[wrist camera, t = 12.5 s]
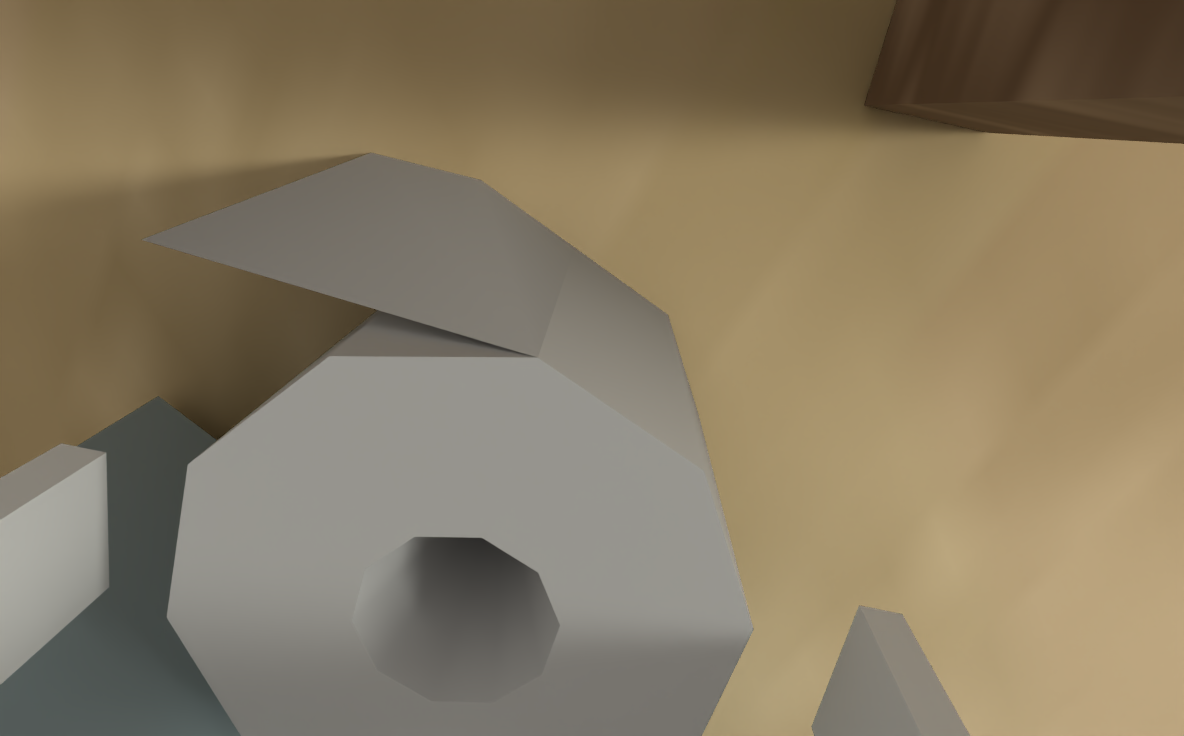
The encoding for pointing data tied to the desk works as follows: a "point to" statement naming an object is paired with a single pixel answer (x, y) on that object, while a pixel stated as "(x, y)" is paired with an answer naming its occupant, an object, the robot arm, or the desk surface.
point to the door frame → (1038, 67)
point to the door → (126, 607)
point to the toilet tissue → (455, 485)
